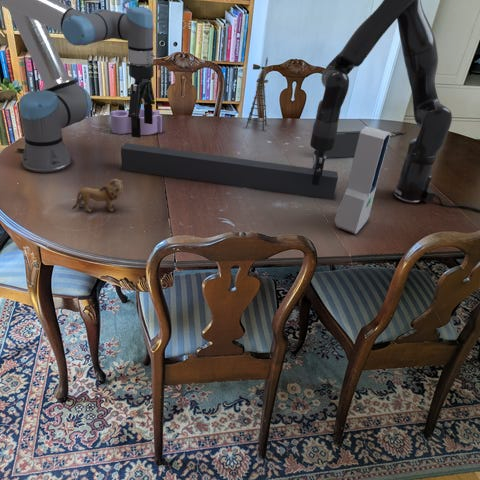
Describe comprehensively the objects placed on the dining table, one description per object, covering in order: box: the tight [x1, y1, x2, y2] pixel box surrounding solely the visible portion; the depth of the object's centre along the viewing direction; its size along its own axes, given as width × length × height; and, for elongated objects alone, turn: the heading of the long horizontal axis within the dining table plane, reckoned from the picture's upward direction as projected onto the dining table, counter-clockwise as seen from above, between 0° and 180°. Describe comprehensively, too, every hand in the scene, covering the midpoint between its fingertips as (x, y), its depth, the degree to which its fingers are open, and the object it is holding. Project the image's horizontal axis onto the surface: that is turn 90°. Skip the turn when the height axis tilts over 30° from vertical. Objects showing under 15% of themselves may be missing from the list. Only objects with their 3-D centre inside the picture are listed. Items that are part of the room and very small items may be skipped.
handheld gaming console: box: [325, 130, 362, 159], centre depth 188 cm, size 23×3×10 cm, turn 108°
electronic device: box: [334, 125, 392, 235], centre depth 136 cm, size 12×8×30 cm, turn 148°
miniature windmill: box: [245, 57, 269, 131], centre depth 203 cm, size 9×8×30 cm
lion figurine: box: [71, 178, 124, 213], centre depth 135 cm, size 15×5×9 cm, turn 110°
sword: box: [390, 131, 407, 137], centre depth 214 cm, size 31×3×1 cm, turn 126°
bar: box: [120, 142, 339, 200], centre depth 159 cm, size 73×5×8 cm, turn 83°
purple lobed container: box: [109, 107, 163, 136], centre depth 192 cm, size 20×12×7 cm, turn 109°
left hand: (142, 130), depth 155 cm, fingers open, 13 cm apart
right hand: (314, 179), depth 157 cm, fingers open, 8 cm apart
